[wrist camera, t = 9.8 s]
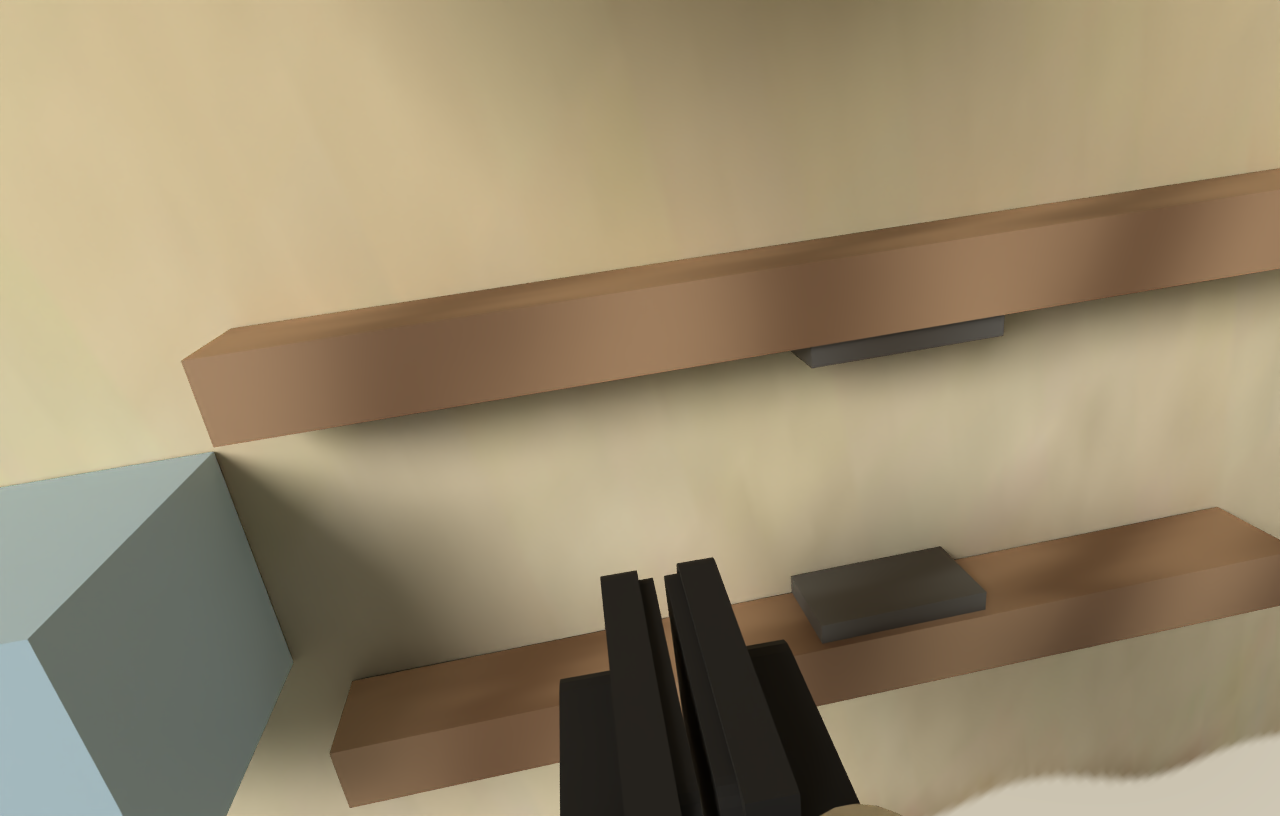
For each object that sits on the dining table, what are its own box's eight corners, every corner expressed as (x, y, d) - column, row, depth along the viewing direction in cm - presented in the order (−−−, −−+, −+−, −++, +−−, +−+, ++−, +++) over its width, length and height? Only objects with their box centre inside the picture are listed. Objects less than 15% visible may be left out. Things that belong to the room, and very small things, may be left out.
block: (213, 451, 15) (27, 639, 9) (293, 662, 17) (180, 921, 11) (-100, 504, 14) (-501, 738, 9) (21, 716, 16) (-240, 1016, 11)
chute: (1284, 167, 16) (1394, 171, 14) (1207, 556, 20) (1284, 604, 18) (230, 328, 14) (181, 360, 12) (369, 731, 18) (349, 808, 16)
